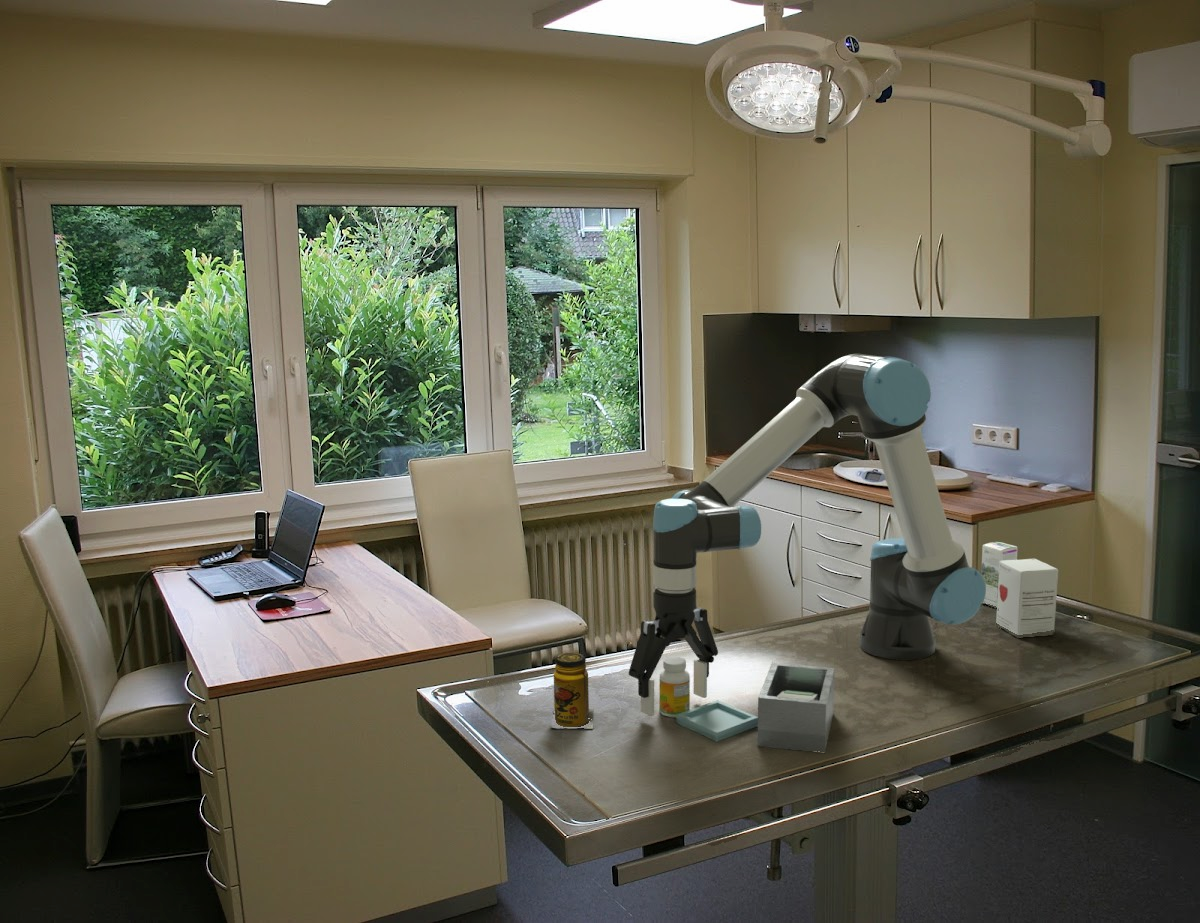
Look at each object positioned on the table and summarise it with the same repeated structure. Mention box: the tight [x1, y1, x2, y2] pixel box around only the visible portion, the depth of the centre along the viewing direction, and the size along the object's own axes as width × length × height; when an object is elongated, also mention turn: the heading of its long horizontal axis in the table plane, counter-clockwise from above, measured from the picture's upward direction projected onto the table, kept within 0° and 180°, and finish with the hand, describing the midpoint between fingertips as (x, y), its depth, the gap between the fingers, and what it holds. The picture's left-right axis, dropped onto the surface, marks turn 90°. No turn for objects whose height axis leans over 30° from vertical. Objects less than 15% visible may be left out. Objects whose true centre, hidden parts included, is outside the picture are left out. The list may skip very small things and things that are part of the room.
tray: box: [675, 699, 758, 742], centre depth 193 cm, size 10×10×2 cm
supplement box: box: [995, 558, 1059, 635], centre depth 239 cm, size 9×9×15 cm
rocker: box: [777, 690, 818, 701], centre depth 190 cm, size 10×7×2 cm
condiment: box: [553, 652, 595, 730], centre depth 194 cm, size 7×8×12 cm
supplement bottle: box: [658, 656, 691, 719], centre depth 198 cm, size 5×5×10 cm
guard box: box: [756, 661, 835, 753], centre depth 190 cm, size 17×11×8 cm, turn 164°
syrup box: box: [980, 541, 1019, 607], centre depth 257 cm, size 6×6×14 cm
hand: (674, 704), depth 198 cm, fingers open, 12 cm apart
